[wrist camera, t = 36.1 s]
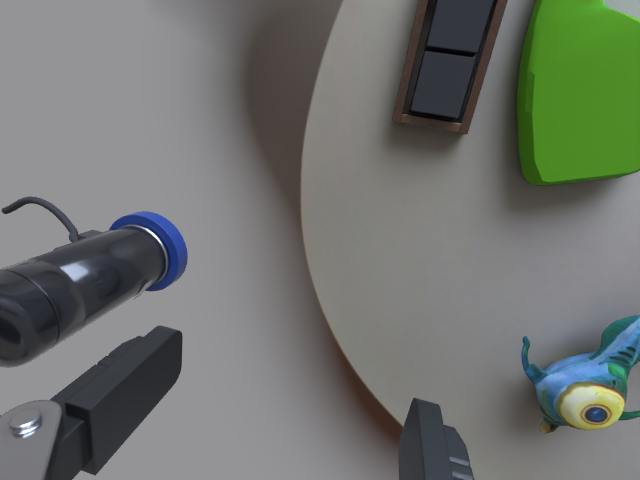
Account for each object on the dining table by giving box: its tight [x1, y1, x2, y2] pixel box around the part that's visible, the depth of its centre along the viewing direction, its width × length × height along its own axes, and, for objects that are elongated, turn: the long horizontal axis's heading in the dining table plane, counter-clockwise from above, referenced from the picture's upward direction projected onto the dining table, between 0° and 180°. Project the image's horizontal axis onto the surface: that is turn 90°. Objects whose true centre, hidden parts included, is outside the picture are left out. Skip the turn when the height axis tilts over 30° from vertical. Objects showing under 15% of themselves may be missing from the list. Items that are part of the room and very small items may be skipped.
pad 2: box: [409, 51, 476, 119], centre depth 31 cm, size 4×5×3 cm
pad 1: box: [424, 0, 493, 57], centre depth 29 cm, size 4×5×3 cm
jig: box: [392, 0, 507, 134], centre depth 30 cm, size 7×13×2 cm, turn 170°
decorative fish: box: [522, 314, 640, 433], centre depth 35 cm, size 13×12×6 cm
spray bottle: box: [516, 0, 640, 186], centre depth 28 cm, size 3×11×25 cm
